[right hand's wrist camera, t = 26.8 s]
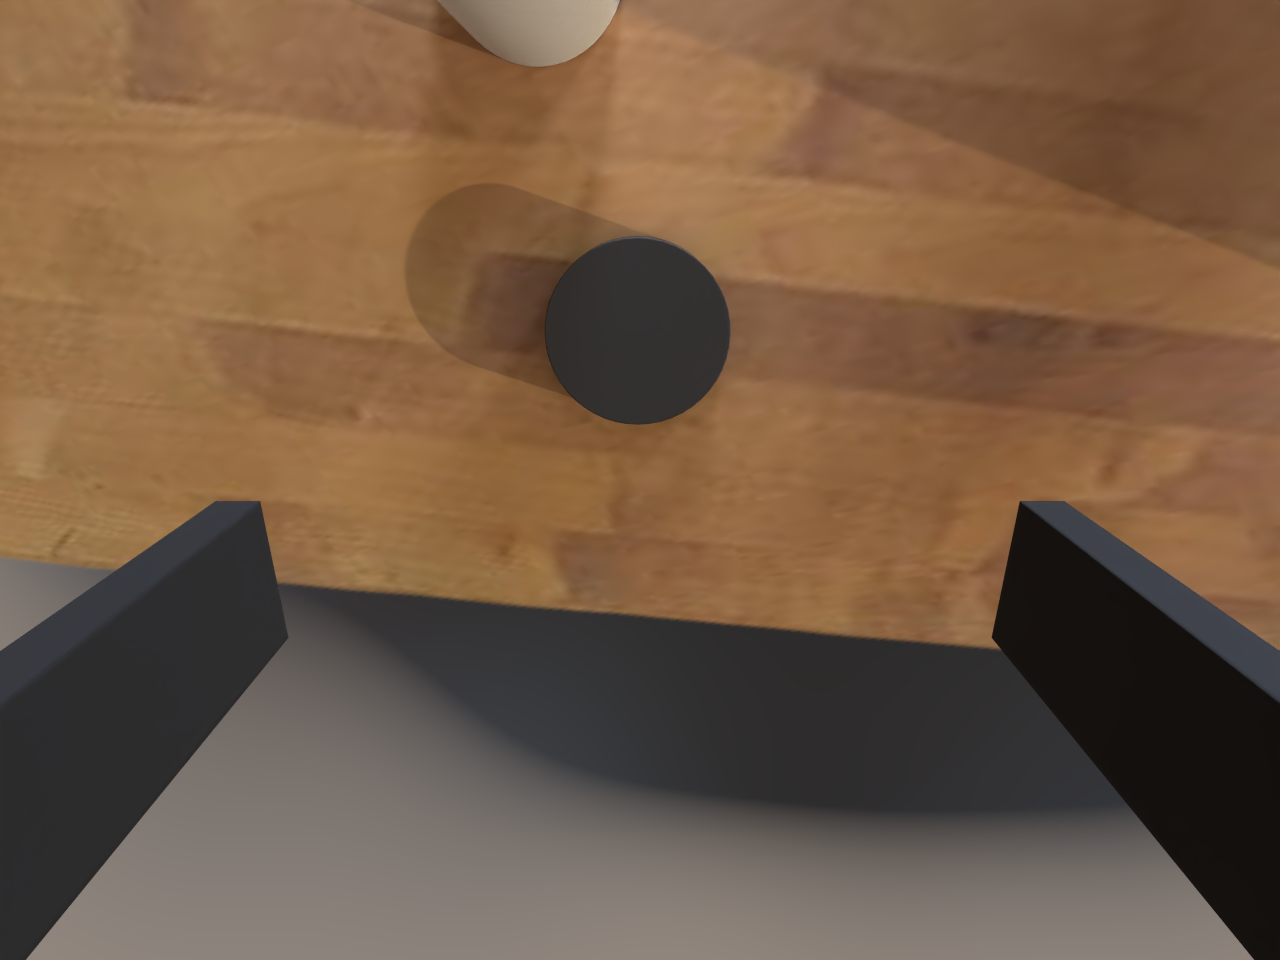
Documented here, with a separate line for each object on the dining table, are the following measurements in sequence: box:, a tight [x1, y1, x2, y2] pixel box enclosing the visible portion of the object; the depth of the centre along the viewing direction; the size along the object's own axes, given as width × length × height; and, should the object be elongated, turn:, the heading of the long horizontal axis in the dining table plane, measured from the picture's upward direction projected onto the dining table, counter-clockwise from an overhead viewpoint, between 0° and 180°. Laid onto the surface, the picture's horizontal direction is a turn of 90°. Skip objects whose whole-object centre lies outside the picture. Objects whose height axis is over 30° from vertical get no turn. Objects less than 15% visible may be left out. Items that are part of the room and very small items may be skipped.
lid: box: [545, 236, 730, 424], centre depth 37 cm, size 9×9×2 cm
